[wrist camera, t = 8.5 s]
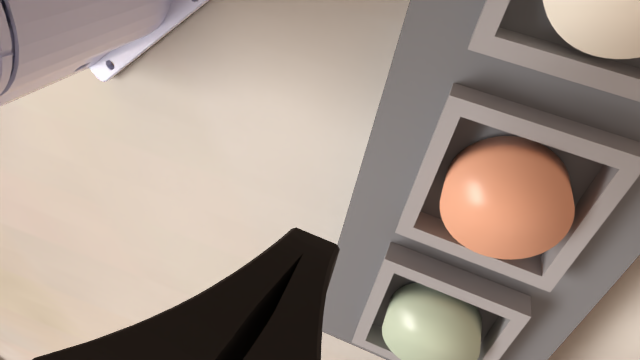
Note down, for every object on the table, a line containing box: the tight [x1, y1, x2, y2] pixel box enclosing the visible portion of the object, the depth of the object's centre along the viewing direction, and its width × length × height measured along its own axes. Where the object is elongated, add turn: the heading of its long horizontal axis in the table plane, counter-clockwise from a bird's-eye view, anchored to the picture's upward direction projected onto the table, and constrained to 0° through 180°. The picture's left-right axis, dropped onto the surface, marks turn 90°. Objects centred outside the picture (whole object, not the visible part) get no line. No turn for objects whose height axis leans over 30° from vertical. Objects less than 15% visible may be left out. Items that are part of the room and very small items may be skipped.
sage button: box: [382, 283, 482, 360], centre depth 21 cm, size 4×4×2 cm
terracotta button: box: [440, 136, 575, 260], centre depth 17 cm, size 4×4×2 cm
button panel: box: [322, 0, 640, 360], centre depth 18 cm, size 26×11×4 cm, turn 169°
